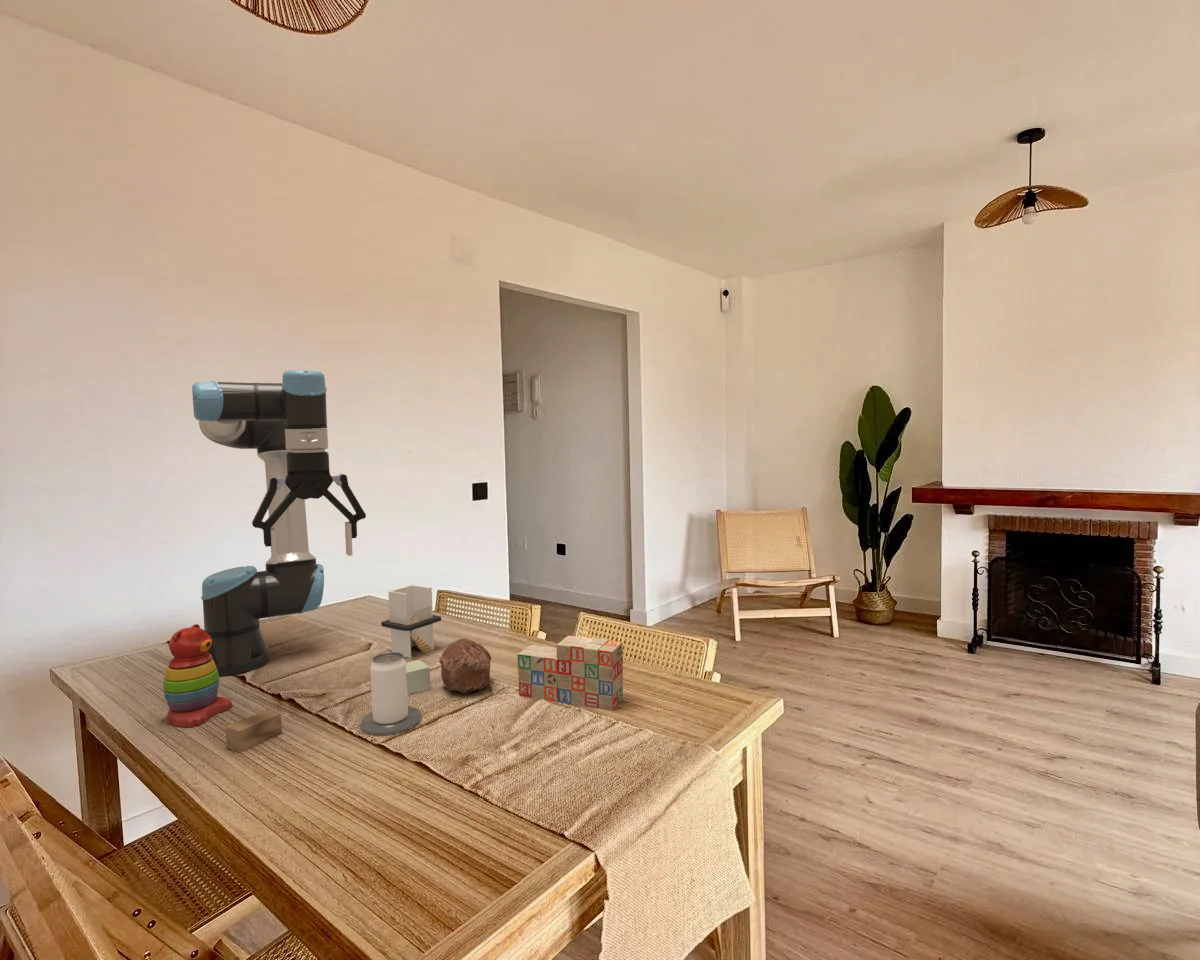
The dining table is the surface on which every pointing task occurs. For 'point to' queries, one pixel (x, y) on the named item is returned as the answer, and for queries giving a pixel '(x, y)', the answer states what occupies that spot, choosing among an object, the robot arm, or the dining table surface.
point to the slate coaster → (378, 729)
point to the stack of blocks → (574, 672)
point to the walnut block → (253, 730)
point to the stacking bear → (192, 679)
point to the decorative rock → (465, 666)
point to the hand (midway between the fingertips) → (312, 558)
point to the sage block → (417, 676)
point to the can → (389, 688)
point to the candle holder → (411, 619)
